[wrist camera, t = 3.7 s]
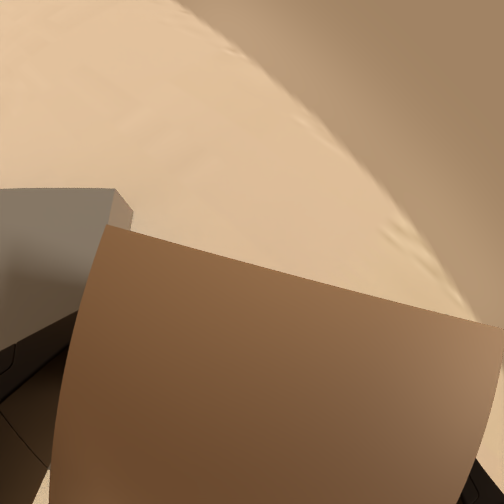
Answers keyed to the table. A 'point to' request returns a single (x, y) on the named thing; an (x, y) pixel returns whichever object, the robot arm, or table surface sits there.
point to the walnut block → (261, 388)
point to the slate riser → (50, 252)
